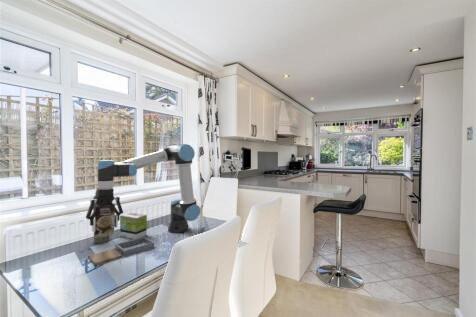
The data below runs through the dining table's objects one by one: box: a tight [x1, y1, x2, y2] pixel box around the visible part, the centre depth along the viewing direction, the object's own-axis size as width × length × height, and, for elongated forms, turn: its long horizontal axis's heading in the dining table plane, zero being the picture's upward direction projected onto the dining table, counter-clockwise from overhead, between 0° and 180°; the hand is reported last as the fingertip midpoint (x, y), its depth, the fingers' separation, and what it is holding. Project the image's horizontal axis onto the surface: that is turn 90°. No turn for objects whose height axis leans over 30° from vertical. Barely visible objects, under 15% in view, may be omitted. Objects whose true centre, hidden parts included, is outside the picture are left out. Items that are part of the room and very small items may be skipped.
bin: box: [114, 236, 155, 257], centre depth 134 cm, size 18×14×3 cm
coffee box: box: [94, 203, 116, 237], centre depth 122 cm, size 9×6×16 cm
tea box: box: [119, 212, 148, 240], centre depth 155 cm, size 15×10×15 cm, turn 68°
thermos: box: [92, 187, 111, 244], centre depth 145 cm, size 9×12×35 cm
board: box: [87, 248, 123, 267], centre depth 122 cm, size 13×13×1 cm
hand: (105, 229), depth 122 cm, fingers closed on coffee box, 10 cm apart
